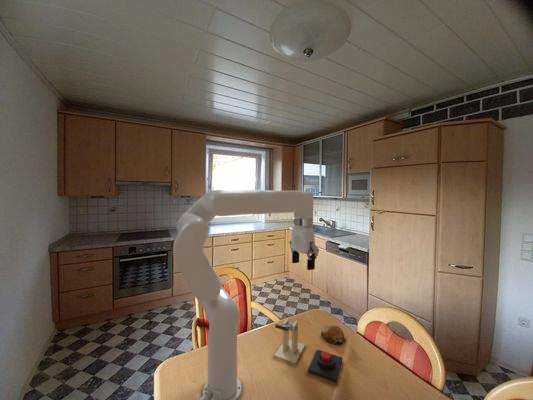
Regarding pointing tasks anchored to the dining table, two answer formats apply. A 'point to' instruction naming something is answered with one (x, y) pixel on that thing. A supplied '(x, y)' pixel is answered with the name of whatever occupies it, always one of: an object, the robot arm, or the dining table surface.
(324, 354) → the button
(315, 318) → the dining table surface
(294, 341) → the toaster bracket
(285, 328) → the toaster lever
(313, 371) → the control block
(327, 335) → the bread roll
